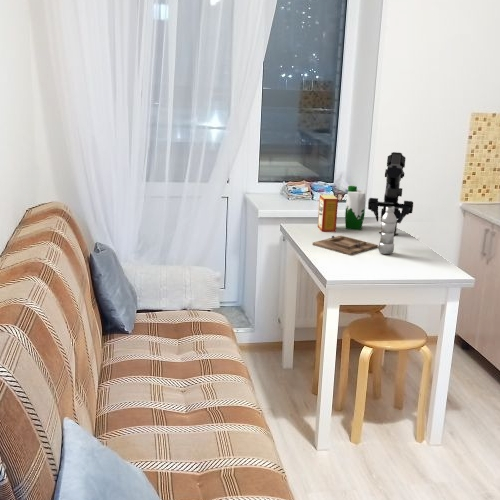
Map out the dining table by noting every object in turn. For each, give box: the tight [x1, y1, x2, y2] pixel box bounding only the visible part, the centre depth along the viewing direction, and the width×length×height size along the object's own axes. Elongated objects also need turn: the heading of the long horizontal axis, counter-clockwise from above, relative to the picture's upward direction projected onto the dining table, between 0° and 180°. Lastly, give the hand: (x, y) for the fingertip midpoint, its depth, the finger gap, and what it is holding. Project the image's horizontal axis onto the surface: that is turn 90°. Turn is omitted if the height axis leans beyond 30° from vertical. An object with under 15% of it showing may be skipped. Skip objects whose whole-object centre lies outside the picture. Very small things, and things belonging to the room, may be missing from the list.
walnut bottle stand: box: [312, 235, 379, 256], centre depth 285 cm, size 20×20×3 cm
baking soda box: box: [317, 194, 339, 233], centre depth 311 cm, size 10×6×16 cm
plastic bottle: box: [377, 206, 398, 255], centre depth 273 cm, size 6×7×20 cm
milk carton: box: [344, 185, 367, 231], centre depth 315 cm, size 9×9×20 cm
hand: (388, 222), depth 278 cm, fingers open, 9 cm apart
